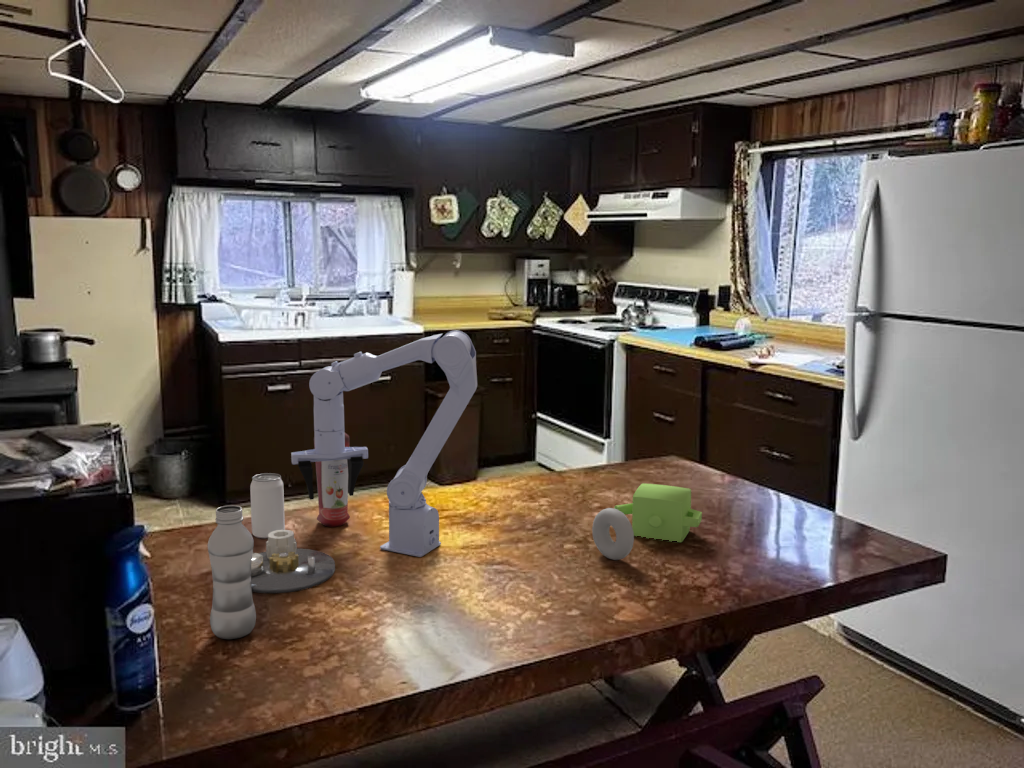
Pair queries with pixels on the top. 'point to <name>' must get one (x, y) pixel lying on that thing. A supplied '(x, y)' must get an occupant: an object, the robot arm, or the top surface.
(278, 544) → the planet gear
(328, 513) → the liquor
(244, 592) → the plastic bottle
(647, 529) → the gearbox
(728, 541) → the top surface
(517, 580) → the top surface
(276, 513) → the can
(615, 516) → the donut
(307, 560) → the carrier
